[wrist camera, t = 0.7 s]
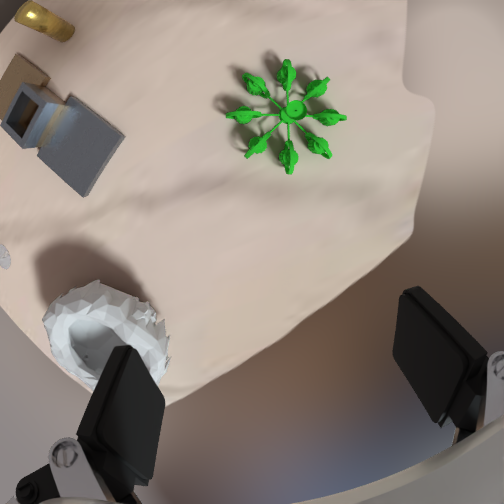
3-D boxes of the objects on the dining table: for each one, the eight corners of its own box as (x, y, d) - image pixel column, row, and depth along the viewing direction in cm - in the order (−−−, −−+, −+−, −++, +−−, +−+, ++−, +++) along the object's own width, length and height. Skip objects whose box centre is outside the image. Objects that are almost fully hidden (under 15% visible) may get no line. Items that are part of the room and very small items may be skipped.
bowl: (100, 237, 37) (67, 264, 27) (202, 323, 43) (196, 367, 33) (52, 315, 41) (25, 347, 32) (135, 381, 47) (123, 420, 38)
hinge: (20, 55, 24) (-1, 49, 18) (125, 136, 32) (107, 135, 26) (-7, 105, 26) (-29, 105, 21) (87, 195, 34) (66, 204, 29)
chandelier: (225, 64, 30) (223, 47, 24) (337, 69, 31) (357, 56, 24) (228, 174, 35) (227, 180, 29) (339, 173, 36) (360, 179, 30)
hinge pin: (67, 22, 24) (26, -2, 12) (78, 28, 25) (36, 2, 13) (55, 38, 24) (11, 18, 13) (65, 44, 25) (20, 24, 14)
